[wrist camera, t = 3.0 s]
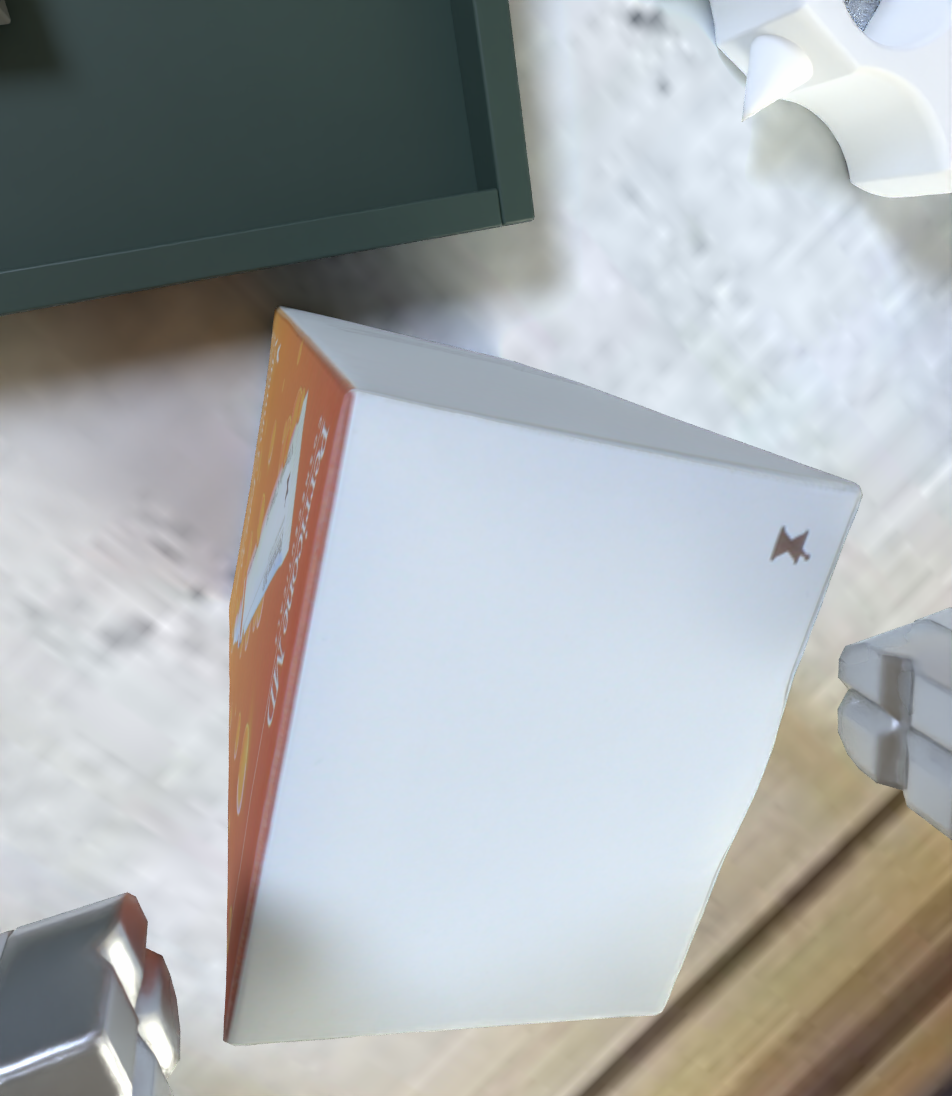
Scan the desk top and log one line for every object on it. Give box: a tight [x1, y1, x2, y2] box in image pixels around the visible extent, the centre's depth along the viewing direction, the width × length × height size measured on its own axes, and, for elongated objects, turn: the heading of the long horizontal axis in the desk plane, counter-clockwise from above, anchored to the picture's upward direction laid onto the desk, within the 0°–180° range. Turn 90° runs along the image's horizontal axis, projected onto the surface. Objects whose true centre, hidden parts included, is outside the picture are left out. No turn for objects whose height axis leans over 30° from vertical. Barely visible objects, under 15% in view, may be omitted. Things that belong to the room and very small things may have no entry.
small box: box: [223, 306, 862, 1045], centre depth 15 cm, size 8×6×13 cm
